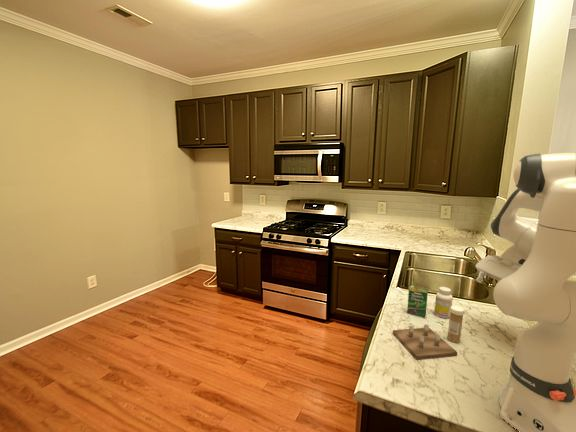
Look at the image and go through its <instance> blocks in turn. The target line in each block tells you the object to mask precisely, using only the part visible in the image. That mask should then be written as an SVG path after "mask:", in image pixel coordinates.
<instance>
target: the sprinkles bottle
mask: <svg viewBox="0 0 576 432" xmlns="http://www.w3.org/2000/svg"><path fill="white" fill-rule="evenodd" d="M464 315H465V309H464V308H463V307H461V306H458V305H452V306H451V309H450V317H449V322H448V328H447V329H448V331H447V337H446V338H447V339H448V340H449V341H450V342H453V343H456V344H457V343H458V344H459V343H460V342H461V335H462V328H463V327H462V326H463V320H464Z"/></svg>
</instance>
